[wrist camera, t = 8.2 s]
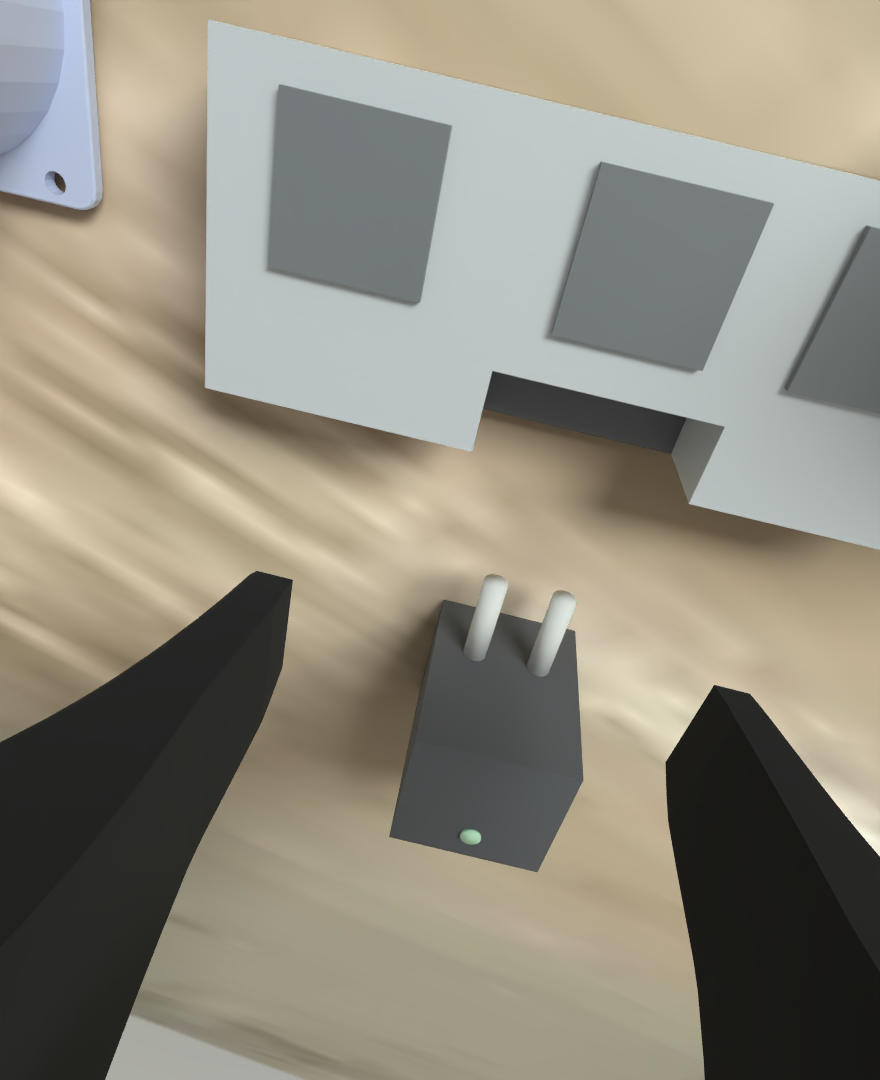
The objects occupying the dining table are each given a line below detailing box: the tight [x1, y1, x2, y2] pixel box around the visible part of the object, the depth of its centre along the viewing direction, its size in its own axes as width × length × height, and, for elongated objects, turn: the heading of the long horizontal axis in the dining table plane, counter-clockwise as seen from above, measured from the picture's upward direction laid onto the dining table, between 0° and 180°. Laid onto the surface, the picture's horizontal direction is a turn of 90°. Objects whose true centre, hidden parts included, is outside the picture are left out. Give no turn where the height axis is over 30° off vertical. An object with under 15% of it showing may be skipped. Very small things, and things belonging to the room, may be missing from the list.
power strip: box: [205, 20, 880, 550], centre depth 15 cm, size 18×7×4 cm, turn 78°
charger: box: [389, 574, 583, 872], centre depth 21 cm, size 4×7×6 cm, turn 168°
